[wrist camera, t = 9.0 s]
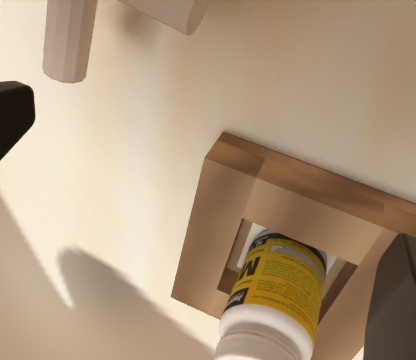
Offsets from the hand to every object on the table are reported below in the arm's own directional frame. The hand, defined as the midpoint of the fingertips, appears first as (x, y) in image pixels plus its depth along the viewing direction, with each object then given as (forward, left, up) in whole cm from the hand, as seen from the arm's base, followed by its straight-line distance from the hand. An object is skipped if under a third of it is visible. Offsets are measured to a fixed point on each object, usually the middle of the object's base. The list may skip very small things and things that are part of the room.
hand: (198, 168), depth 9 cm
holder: (-4, +12, -12) cm, 17 cm away
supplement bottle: (-4, +12, -11) cm, 17 cm away
